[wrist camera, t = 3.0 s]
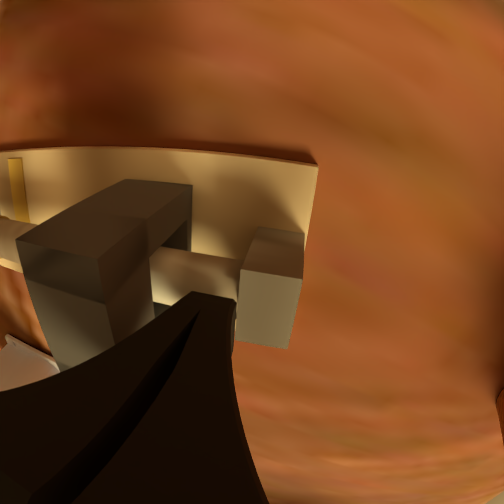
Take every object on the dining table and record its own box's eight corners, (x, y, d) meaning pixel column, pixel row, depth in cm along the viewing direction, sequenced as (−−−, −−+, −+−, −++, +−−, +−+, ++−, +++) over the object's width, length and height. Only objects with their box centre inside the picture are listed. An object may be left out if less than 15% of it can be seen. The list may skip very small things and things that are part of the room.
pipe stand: (5, 261, 17) (-33, 289, 13) (-14, 152, 13) (-61, 170, 10) (287, 330, 15) (278, 396, 11) (317, 164, 11) (323, 192, 7)
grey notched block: (134, 292, 14) (64, 381, 9) (125, 178, 12) (14, 239, 6) (191, 305, 14) (135, 410, 8) (192, 185, 11) (97, 259, 6)
